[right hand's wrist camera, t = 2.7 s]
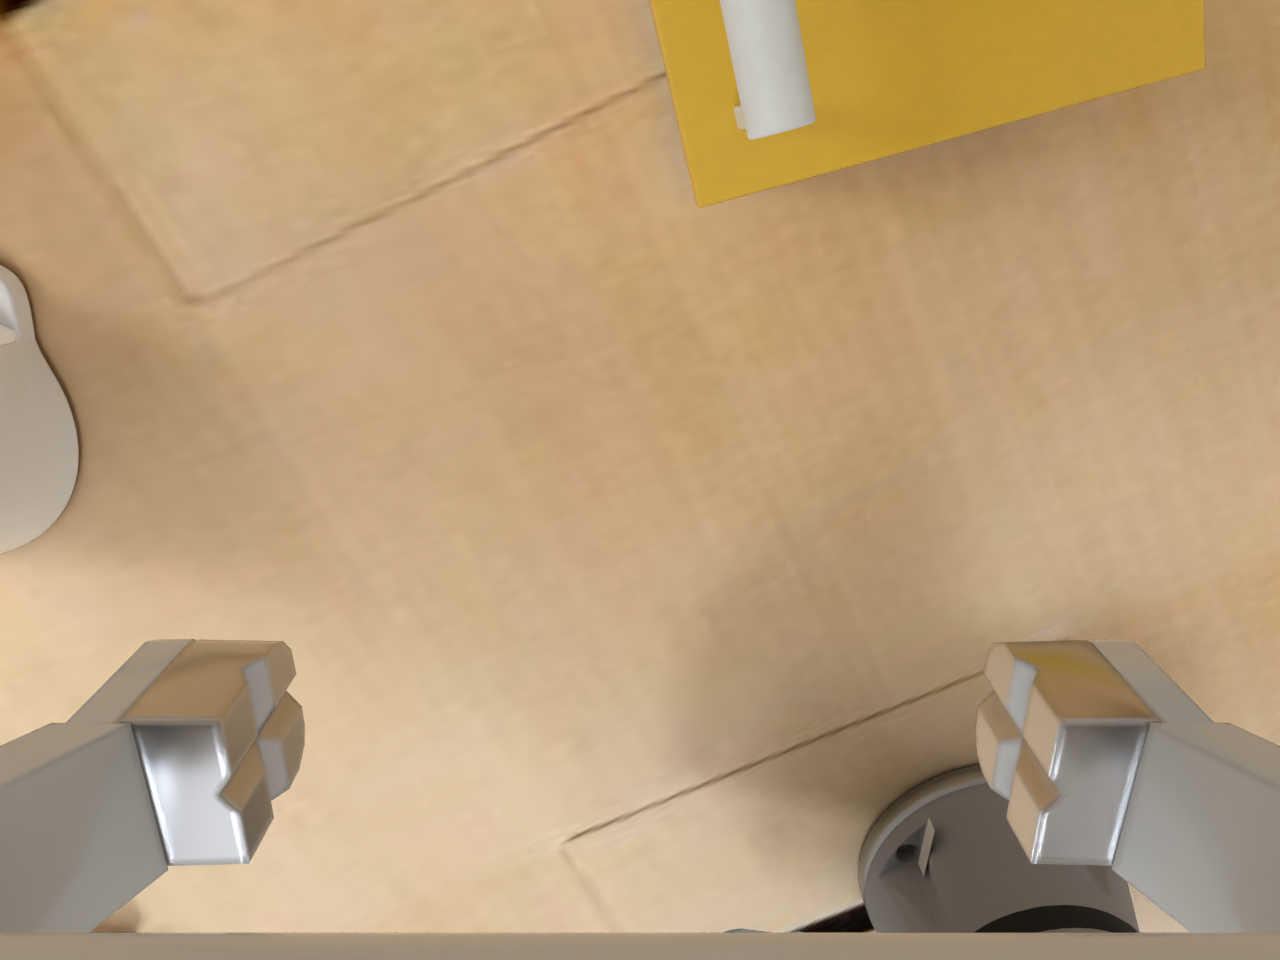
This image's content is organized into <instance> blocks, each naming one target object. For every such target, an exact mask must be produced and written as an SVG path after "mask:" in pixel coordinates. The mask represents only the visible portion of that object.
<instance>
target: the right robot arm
mask: <svg viewBox="0 0 1280 960" xmlns="http://www.w3.org/2000/svg"><path fill="white" fill-rule="evenodd" d="M78 465H79V445H78V437H77V431H76V426H75V422H74V418H73V415H72V412H71V409H70V406H69V403H68V401H67V399H66V396H65V394H64V392H63V390H62V388H61V386H60V384H59V382H58V380H57V379H56V377H55V375H54V374H53V372H52V370H51V368H50V367H49V365H48V363H47V362H46V360H45V358H44V357H43V355H42V353H41V351H40V349H39V346H38V344H37V342H36V339H35V332H34V326H33V320H32V314H31V309H30V304H29V300H28V297H27V293H26V291H25V288H24V286H23V284H22V283H21V281H20V280H19V278H18V277H17V276H16V275H15V274H14V273H13V272H11V271H10V270H9V269H7V268H5V267H4V266H1V265H0V553H3V552H7V551H10V550H13V549H16V548H18V547H21V546H23V545H25V544H27V543H29V542H30V541H32V540H34V539H35V538H37V537H38V536H40V535H41V534H42V533H44V532H45V531H46V530H47V529H48V528H49V527H50V526H51V525H52V524H53V523H54V522H55V521H56V520H57V519H58V517H59V516H60V515H61V513H62V512H63V510H64V509H65V507H66V505H67V503H68V502H69V499H70V497H71V495H72V492H73V489H74V486H75V483H76V478H77V473H78ZM295 675H296V670H295V666H294V661H293V656H292V652H291V649H290V648H289V647H288V646H287V645H286V644H285V643H284V642H283V641H245V640H194V639H163V640H153V641H148V642H145V643H144V644H143V645H142V646H141V647H140V648H139V649H138V650H137V651H136V652H135V653H134V654H133V655H132V656H131V657H130V658H129V659H128V660H127V661H126V662H125V663H124V664H123V665H122V666H121V667H120V668H119V669H118V670H117V671H116V672H115V673H114V674H113V675H112V676H111V677H110V678H109V679H108V680H107V681H106V683H105V684H104V685H103V686H102V687H101V688H100V689H99V690H98V691H97V692H96V693H95V694H94V695H93V696H92V697H91V698H90V699H89V700H88V701H87V702H86V703H85V704H84V705H83V706H82V707H81V708H80V709H79V710H78V711H77V712H76V713H75V714H74V715H73V716H72V717H71V718H70V719H69V720H68V721H67V722H66V723H50V724H48V725H46V726H43V727H41V728H39V729H37V730H35V731H32V732H30V733H28V734H26V735H24V736H21V737H19V738H17V739H15V740H13V741H10V742H8V743H6V744H4V745H2V746H0V960H1280V746H1278V745H1276V744H1274V743H1272V742H1270V741H1267V740H1265V739H1263V738H1261V737H1259V736H1256V735H1254V734H1252V733H1250V732H1248V731H1245V730H1243V729H1241V728H1239V727H1237V726H1234V725H1232V724H1230V723H1214V722H1213V721H1212V720H1211V719H1210V718H1209V717H1208V716H1207V715H1206V714H1205V713H1204V712H1203V711H1202V710H1201V709H1200V708H1199V707H1198V706H1197V705H1196V704H1195V703H1194V702H1193V701H1192V700H1191V699H1190V698H1189V697H1188V696H1187V695H1186V694H1185V692H1184V691H1183V690H1182V689H1181V688H1180V687H1179V686H1178V685H1177V684H1176V683H1175V682H1174V681H1173V680H1172V679H1171V678H1170V677H1169V676H1168V675H1167V674H1166V673H1165V672H1164V671H1163V670H1162V669H1161V668H1160V667H1159V666H1158V665H1157V664H1156V663H1155V662H1154V661H1153V660H1152V659H1151V658H1150V657H1149V656H1148V655H1147V654H1146V653H1145V652H1144V651H1143V650H1142V649H1141V648H1140V647H1139V646H1138V645H1137V644H1136V643H1134V642H1132V641H1129V640H1127V639H1102V640H1080V641H1040V642H1002V643H993V644H992V646H991V649H990V651H989V653H988V655H987V659H986V665H985V670H984V675H985V677H986V678H987V680H988V681H989V683H990V685H991V686H992V688H993V689H994V691H993V692H992V693H991V694H990V695H989V696H988V697H987V698H986V699H985V700H984V701H983V702H982V703H981V704H980V705H979V706H978V712H977V719H976V727H975V737H976V749H977V756H978V760H979V763H980V766H981V770H982V773H983V775H984V777H985V779H986V781H987V782H988V784H989V786H990V788H991V789H992V790H994V791H995V792H997V793H998V794H1000V795H1001V796H1003V797H1004V798H1006V799H1007V800H1009V805H1008V810H1007V815H1006V818H1007V820H1008V822H1009V824H1010V826H1011V827H1012V829H1013V831H1014V833H1015V835H1016V837H1017V838H1018V840H1019V842H1020V844H1021V846H1022V848H1023V849H1024V851H1025V853H1026V855H1027V857H1028V859H1029V860H1030V862H1031V864H1063V865H1099V866H1112V870H1113V871H1114V872H1115V873H1117V874H1118V875H1119V876H1121V877H1122V878H1123V879H1124V880H1126V881H1127V882H1128V883H1129V884H1131V885H1132V886H1133V887H1134V888H1136V889H1137V890H1138V891H1139V892H1141V893H1142V894H1143V895H1144V896H1146V897H1147V898H1148V899H1149V900H1151V901H1152V902H1153V903H1154V904H1156V905H1157V906H1158V907H1160V908H1161V909H1162V910H1163V911H1165V912H1166V913H1167V914H1168V915H1170V916H1171V917H1172V918H1173V919H1175V920H1176V921H1177V922H1178V923H1180V924H1181V925H1182V926H1183V927H1185V928H1186V929H1187V930H1188V931H1190V932H1191V933H89V932H91V931H92V930H93V929H94V928H96V927H97V926H98V925H99V924H101V923H102V922H103V921H104V920H106V919H107V918H108V917H109V916H111V915H112V914H113V913H115V912H116V911H117V910H118V909H120V908H121V907H122V906H123V905H125V904H126V903H127V902H128V901H130V900H131V899H132V898H133V897H135V896H136V895H137V894H138V893H140V892H141V891H142V890H143V889H145V888H146V887H147V886H149V885H150V884H151V883H152V882H154V881H155V880H156V879H157V878H159V877H160V876H161V875H162V874H164V873H165V872H166V871H167V870H168V867H167V866H181V865H216V864H249V863H250V861H251V859H252V857H253V855H254V853H255V851H256V850H257V848H258V846H259V844H260V842H261V840H262V839H263V837H264V835H265V833H266V831H267V829H268V827H269V826H270V824H271V822H272V820H273V818H274V815H273V810H272V804H271V800H273V799H274V798H276V797H277V796H279V795H280V794H282V793H283V792H285V791H286V790H288V789H289V788H290V786H291V784H292V782H293V780H294V778H295V776H296V774H297V772H298V770H299V767H300V762H301V758H302V754H303V749H304V741H305V724H304V717H303V711H302V706H301V705H300V704H299V703H298V702H297V701H296V700H295V699H294V698H293V697H292V696H291V695H290V694H289V693H288V692H287V691H286V689H287V688H288V686H289V685H290V683H291V681H292V680H293V678H294V677H295Z"/></svg>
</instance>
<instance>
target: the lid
mask: <svg viewBox="0 0 1280 960" xmlns="http://www.w3.org/2000/svg"><path fill="white" fill-rule="evenodd" d="M649 2H650V6H651V11H652V15H653V19H654V24H655V28H656V33H657V37H658V41H659V46H660V50H661V54H662V59H663V63H664V67H665V72H666V76H667V80H668V85H669V89H670V93H671V98H672V102H673V106H674V111H675V115H676V119H677V124H678V128H679V132H680V137H681V141H682V145H683V150H684V154H685V158H686V163H687V167H688V171H689V176H690V180H691V184H692V189H693V193H694V197H695V202H696V205H697V206H698V207H699V208H702V207H706V206H709V205H713V204H717V203H720V202H724V201H727V200H731V199H735V198H738V197H742V196H746V195H749V194H753V193H756V192H760V191H764V190H767V189H771V188H775V187H778V186H782V185H785V184H789V183H793V182H796V181H800V180H804V179H807V178H811V177H814V176H818V175H822V174H825V173H829V172H833V171H836V170H840V169H843V168H847V167H851V166H854V165H858V164H861V163H865V162H869V161H872V160H876V159H880V158H883V157H887V156H890V155H894V154H898V153H901V152H905V151H909V150H912V149H916V148H919V147H923V146H927V145H930V144H934V143H938V142H941V141H945V140H948V139H952V138H956V137H959V136H963V135H967V134H970V133H974V132H977V131H981V130H985V129H988V128H992V127H996V126H999V125H1003V124H1006V123H1010V122H1014V121H1017V120H1021V119H1025V118H1028V117H1032V116H1035V115H1039V114H1043V113H1046V112H1050V111H1054V110H1057V109H1061V108H1064V107H1068V106H1072V105H1075V104H1079V103H1083V102H1086V101H1090V100H1093V99H1097V98H1101V97H1104V96H1108V95H1112V94H1115V93H1119V92H1122V91H1126V90H1130V89H1133V88H1137V87H1141V86H1144V85H1148V84H1151V83H1155V82H1159V81H1162V80H1166V79H1170V78H1173V77H1177V76H1180V75H1184V74H1188V73H1191V72H1195V71H1199V70H1202V69H1204V68H1205V30H1204V0H649Z"/></svg>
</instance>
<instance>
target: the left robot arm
mask: <svg viewBox="0 0 1280 960" xmlns="http://www.w3.org/2000/svg"><path fill="white" fill-rule="evenodd" d="M1008 805H1009V800H1007V799H1006V798H1004V797H1003V796H1001V795H1000V794H998V793H997V792H995V791H994V790H992V789H991V788H990V786H989V784H988V782H987V781H986V779H985V777H984V775H983V773H982V770H981V766H980V765H976V766H971V767H965V768H962V769H958V770H954V771H951V772H948V773H945V774H942V775H940V776H937V777H935V778H933V779H930V780H928V781H926V782H924V783H922V784H921V785H919V786H917V787H915V788H914V789H912V790H911V791H909V792H908V793H906V794H905V795H904V796H902V797H901V798H900V799H898V800H897V801H896V802H895V803H894V804H893V805H891V806H890V807H889V808H888V809H887V810H886V811H885V813H884V814H883V815H882V816H881V817H880V818H879V820H878V821H877V822H876V823H875V825H874V826H873V828H872V830H871V831H870V833H869V835H868V837H867V839H866V841H865V843H864V846H863V849H862V851H861V855H860V860H859V868H858V880H859V887H860V891H861V894H862V898H863V901H864V904H865V907H866V911H867V914H868V917H869V919H870V921H871V923H872V925H873V927H874V929H875V930H876V932H877V933H1140V932H1139V928H1138V924H1137V920H1136V916H1135V912H1134V908H1133V904H1132V900H1131V896H1130V891H1129V887H1128V883H1127V881H1126V880H1124V879H1123V878H1122V877H1121V876H1119V875H1118V874H1117V873H1115V872H1114V871H1113V870H1112V866H1099V865H1063V864H1031V862H1030V860H1029V859H1028V857H1027V855H1026V853H1025V851H1024V849H1023V848H1022V846H1021V844H1020V842H1019V840H1018V838H1017V837H1016V835H1015V833H1014V831H1013V829H1012V827H1011V826H1010V824H1009V822H1008V820H1007V818H1006V815H1007V810H1008ZM724 933H771V932H763V931H756V930H748V929H734V930H729V931H726V932H724ZM792 933H803V932H799V931H798V932H792Z"/></svg>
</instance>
